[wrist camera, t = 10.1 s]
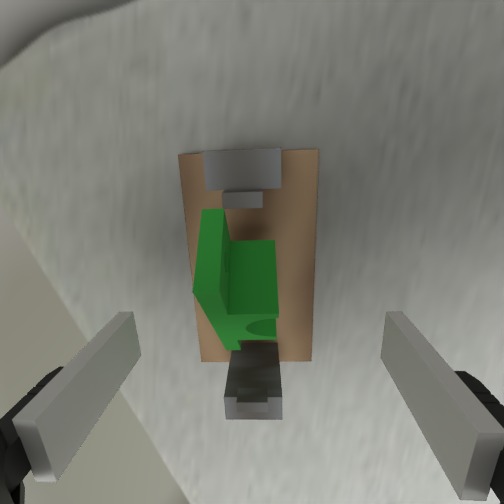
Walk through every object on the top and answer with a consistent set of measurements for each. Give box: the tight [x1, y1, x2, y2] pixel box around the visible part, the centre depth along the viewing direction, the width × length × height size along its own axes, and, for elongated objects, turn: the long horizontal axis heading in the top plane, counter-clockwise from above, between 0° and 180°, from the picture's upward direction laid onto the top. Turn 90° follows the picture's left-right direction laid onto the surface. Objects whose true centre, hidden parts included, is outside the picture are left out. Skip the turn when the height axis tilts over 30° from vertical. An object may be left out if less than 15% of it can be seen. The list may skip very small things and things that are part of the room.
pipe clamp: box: [193, 208, 279, 350], centre depth 18 cm, size 11×4×5 cm
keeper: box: [178, 148, 319, 420], centre depth 20 cm, size 10×18×8 cm, turn 2°
